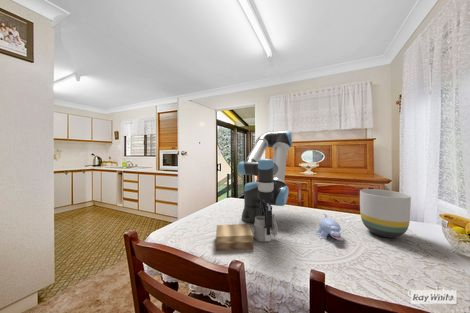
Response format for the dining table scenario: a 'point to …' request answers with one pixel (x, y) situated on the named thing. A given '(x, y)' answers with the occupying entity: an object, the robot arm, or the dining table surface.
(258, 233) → the mug
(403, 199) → the planter
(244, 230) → the wooden block
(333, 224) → the light blue rounded figure
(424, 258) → the dining table surface
